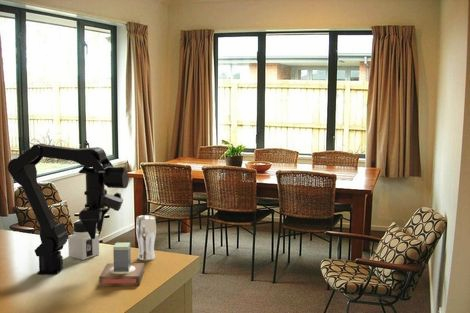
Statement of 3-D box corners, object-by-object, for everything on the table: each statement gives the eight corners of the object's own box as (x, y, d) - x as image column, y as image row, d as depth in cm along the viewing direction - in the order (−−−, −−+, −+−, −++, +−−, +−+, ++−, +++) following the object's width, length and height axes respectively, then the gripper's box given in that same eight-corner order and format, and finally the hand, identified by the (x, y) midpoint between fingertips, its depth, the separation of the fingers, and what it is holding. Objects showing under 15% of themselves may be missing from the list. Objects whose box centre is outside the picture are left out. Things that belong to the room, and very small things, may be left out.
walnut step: (99, 286, 150) (99, 276, 150) (107, 272, 162) (107, 263, 162) (139, 285, 151) (138, 276, 151) (144, 271, 163) (144, 262, 163)
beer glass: (152, 262, 173) (151, 220, 171) (133, 260, 174) (132, 219, 172) (159, 255, 180) (158, 215, 178) (141, 254, 181) (140, 214, 179)
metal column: (113, 271, 154) (113, 246, 153) (116, 266, 159) (116, 242, 158) (128, 271, 154) (128, 246, 153) (130, 266, 159) (130, 242, 158)
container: (99, 254, 181) (98, 219, 179) (82, 260, 174) (81, 224, 173) (85, 250, 185) (84, 216, 183) (68, 256, 178) (67, 221, 177)
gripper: (115, 192, 149) (116, 243, 151) (125, 182, 167) (126, 227, 169) (77, 192, 148) (79, 243, 150) (92, 182, 167) (93, 227, 169)
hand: (96, 234), depth 160 cm, fingers open, 9 cm apart
